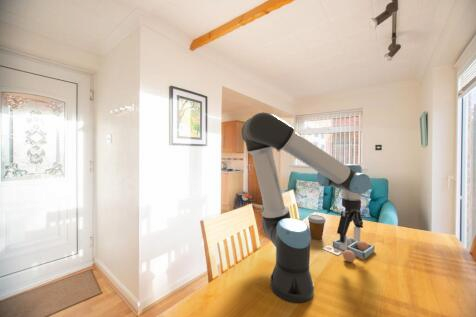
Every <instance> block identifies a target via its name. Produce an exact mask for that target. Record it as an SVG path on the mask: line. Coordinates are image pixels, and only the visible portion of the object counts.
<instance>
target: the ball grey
mask: <svg viewBox="0 0 476 317" xmlns="http://www.w3.org/2000/svg"><path fill="white" fill-rule="evenodd" d="M348 237H349V236H347V246H349V245H350V244H352V242H351V240H350V239H349V238H348Z"/></svg>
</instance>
